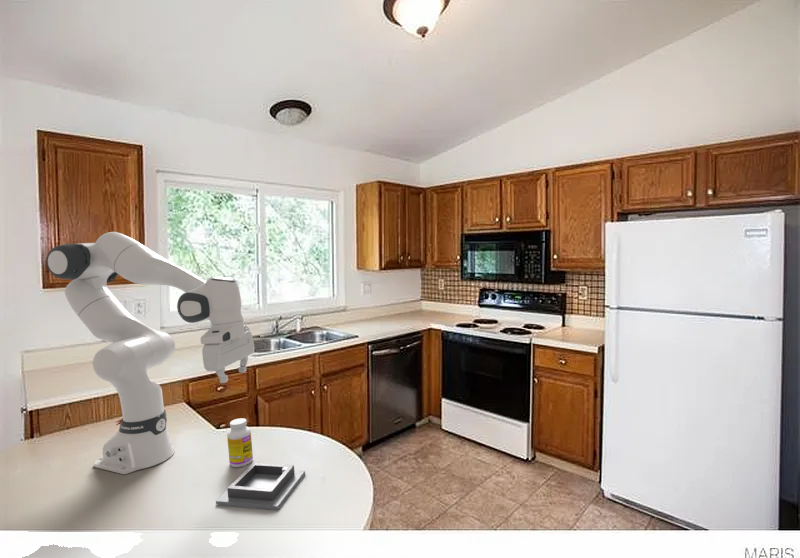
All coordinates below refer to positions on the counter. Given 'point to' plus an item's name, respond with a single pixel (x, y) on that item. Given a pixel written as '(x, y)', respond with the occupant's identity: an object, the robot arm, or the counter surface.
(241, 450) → the supplement bottle
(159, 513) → the counter surface
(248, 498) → the pocket plate
